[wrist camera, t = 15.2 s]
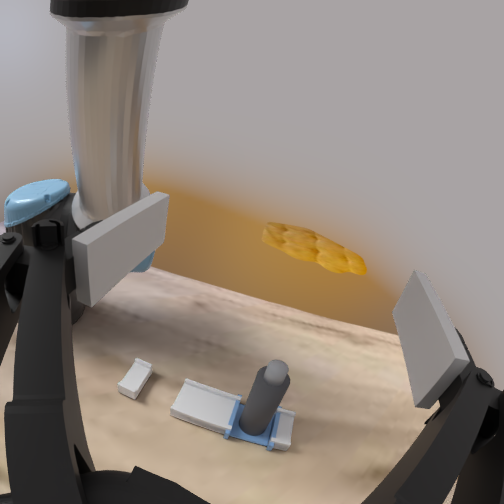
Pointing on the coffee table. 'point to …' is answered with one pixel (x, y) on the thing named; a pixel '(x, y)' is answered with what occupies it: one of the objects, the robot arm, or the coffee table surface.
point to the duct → (212, 409)
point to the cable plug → (264, 397)
